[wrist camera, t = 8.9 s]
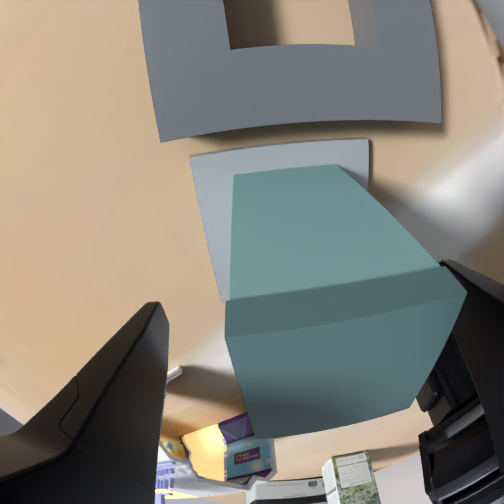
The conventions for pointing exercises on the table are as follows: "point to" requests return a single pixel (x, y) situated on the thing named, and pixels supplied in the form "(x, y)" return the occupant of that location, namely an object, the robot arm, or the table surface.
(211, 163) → the pad
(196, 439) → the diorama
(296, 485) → the tea box
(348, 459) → the syrup box
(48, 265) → the table surface
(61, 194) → the table surface
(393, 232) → the plug
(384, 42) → the socket
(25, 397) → the table surface
